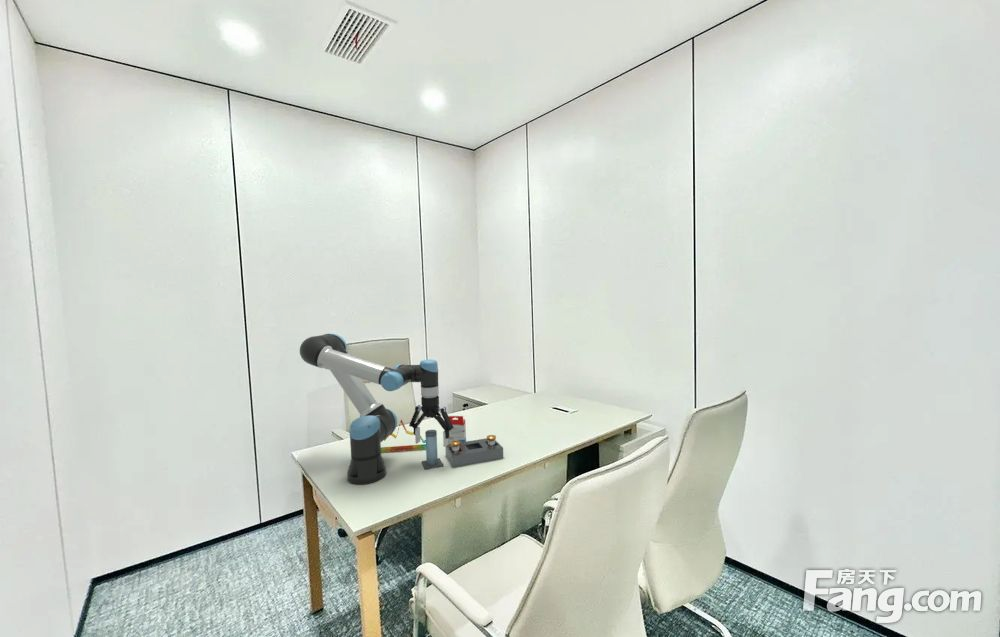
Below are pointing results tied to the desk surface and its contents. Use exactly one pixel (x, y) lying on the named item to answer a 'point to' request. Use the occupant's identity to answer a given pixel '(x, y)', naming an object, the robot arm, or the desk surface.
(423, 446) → the chart
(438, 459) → the pad
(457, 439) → the ink box
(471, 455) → the housing
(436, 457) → the cylinder
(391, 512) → the desk surface
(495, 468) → the desk surface
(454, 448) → the plunger near
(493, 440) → the plunger far
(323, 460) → the desk surface
